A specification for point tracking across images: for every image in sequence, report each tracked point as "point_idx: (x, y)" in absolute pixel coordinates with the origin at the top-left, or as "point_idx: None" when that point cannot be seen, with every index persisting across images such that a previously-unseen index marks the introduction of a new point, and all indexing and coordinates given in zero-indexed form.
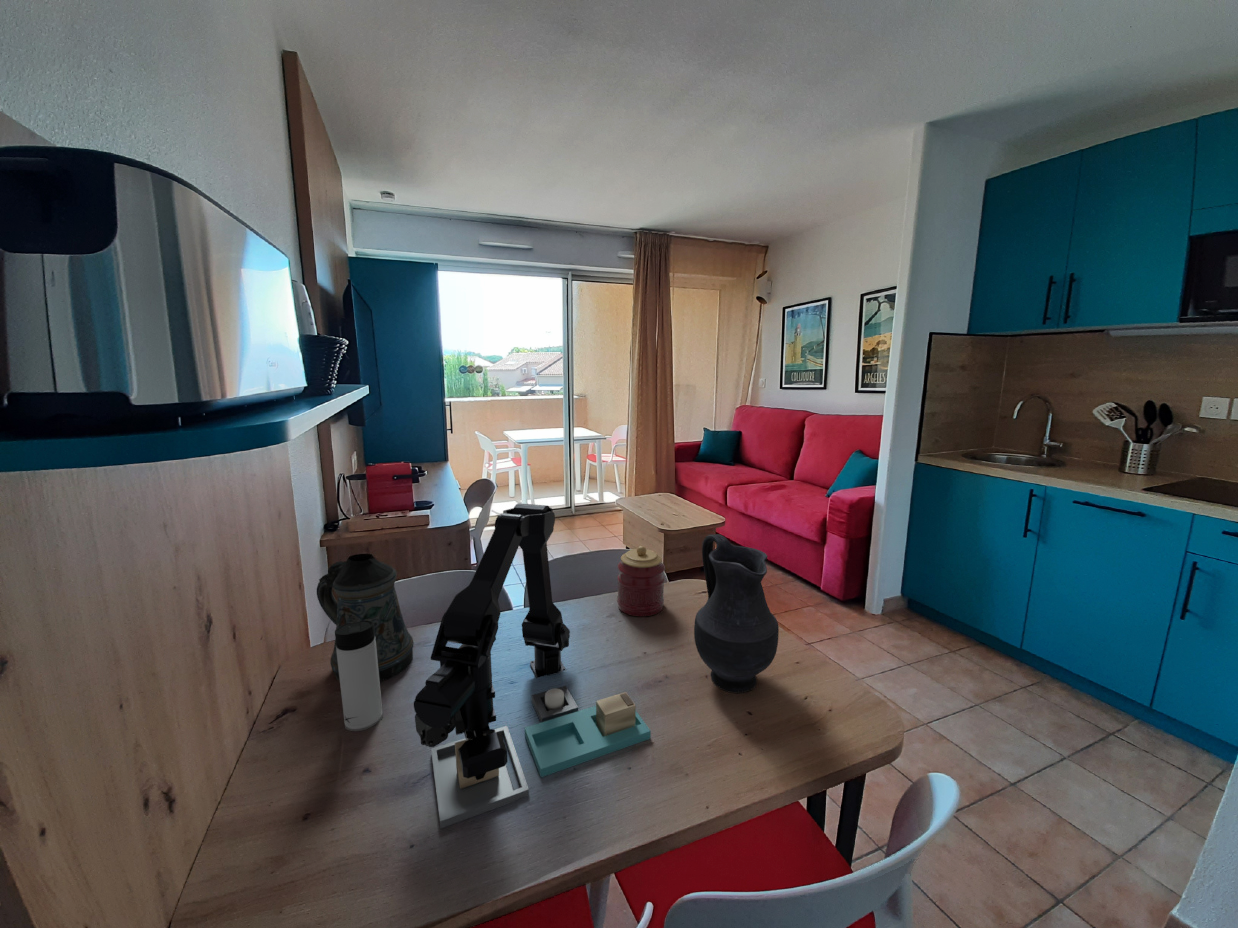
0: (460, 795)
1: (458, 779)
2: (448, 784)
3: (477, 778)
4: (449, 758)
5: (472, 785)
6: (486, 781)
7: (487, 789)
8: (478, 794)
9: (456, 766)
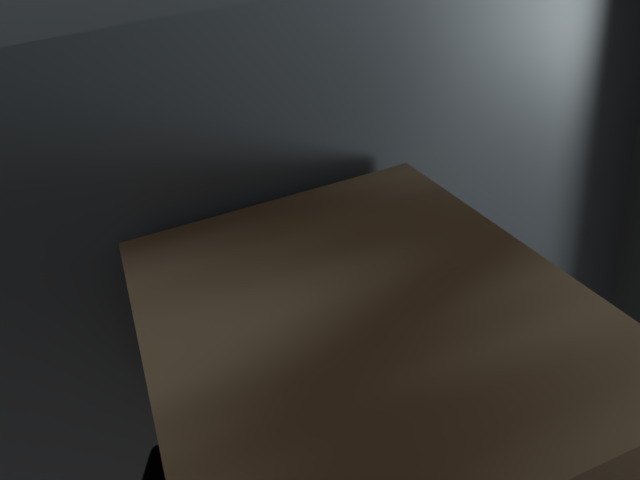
0: (34, 248)
1: (253, 211)
2: (240, 81)
3: (150, 469)
4: (582, 58)
5: None
6: None
7: (83, 478)
8: (25, 421)
9: (423, 183)
